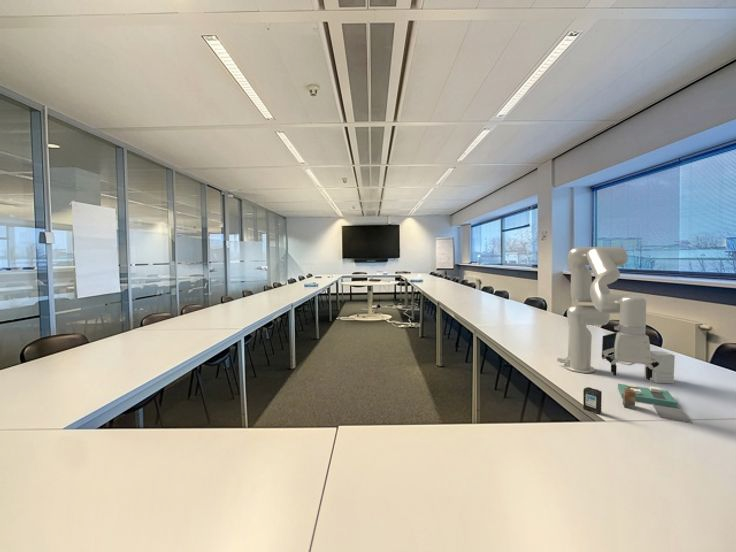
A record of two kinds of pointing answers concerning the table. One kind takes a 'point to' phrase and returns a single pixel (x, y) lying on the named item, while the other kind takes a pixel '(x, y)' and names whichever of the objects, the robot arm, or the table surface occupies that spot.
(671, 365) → the supplement box
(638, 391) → the switch tab left
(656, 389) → the switch tab right
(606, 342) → the laptop
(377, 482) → the table surface
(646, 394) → the switch panel
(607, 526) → the table surface
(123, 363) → the table surface
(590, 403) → the ink cartridge
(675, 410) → the mat
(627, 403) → the brown cardboard box
